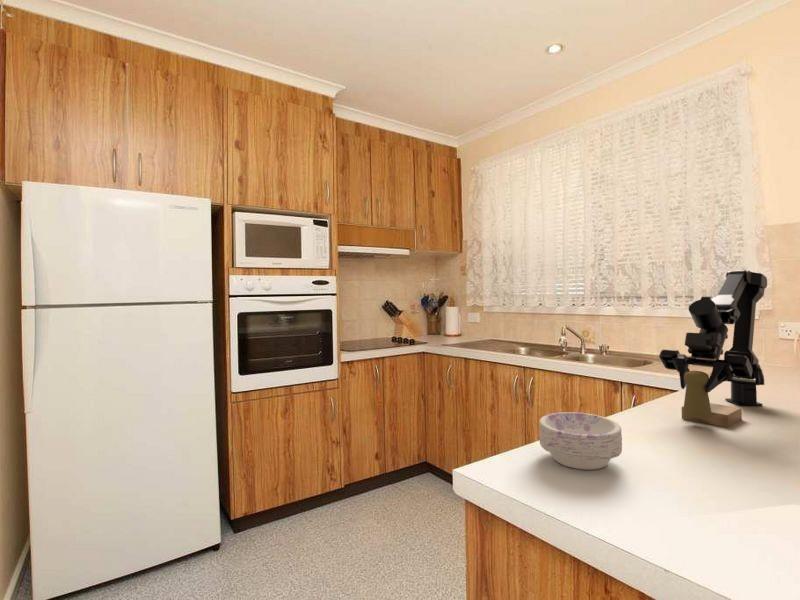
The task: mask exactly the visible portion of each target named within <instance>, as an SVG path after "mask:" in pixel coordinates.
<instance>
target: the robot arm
mask: <svg viewBox="0 0 800 600" xmlns="http://www.w3.org/2000/svg"><path fill="white" fill-rule="evenodd" d="M725 275H726V276H725V279H724V281H723V284H722V285H721V287H720V290H719V291H718V293H717V295H716V296H715V297H711V296H701V297H700V299H698V300H695V301H694V302H692V303H690V305H688V312H689V315H690V316H691V318H692V320H693V322H694V325H695V327H696V328H699V331H698V332H686V333H685V339H684V345H685V347H687V348H688V349H687V352H688V354H691V355H690V356H689V355H686V354H683V353H681V352H680V351H679V350H678V349H676V350H675V349H667V348H665V349H662V350H660V352H659V355H658V357H659V359H660V361H661V363H662V364H663V367H664V368H665V369H667V370H672V371H677V373H678V375H679V381H680V382H679V383H680V389H682V390H685V389H686V385H687V384H686V382H685V381H684V374H685V373H686V372H687V371H691V370H690V369H689V367H690V365H691V366H696V367H705V368H712V371H711V373H710V376H709V380H708V383H707V386H706V392H707V393H708V394H709V393H710V392H711V391H713V390H714V389H715V388H717V387H718V386H719V385H721V384H723V383H724V382H728V383H729V382H730V398H729V397H728V398H724V399H725V401H727V402H728V403H732V404H733V405H737V406H754V407H755V406H759V407H760V406H762V407H763V406H764V405H763V403H761V402H758V398H757V395H758V394H757V393H758V392H757V386H764V385H765V376H764V371H763V369H762V368H761V365H760V364H759V363H760V362H759V359H758V357H757V355H755V352H754V351H753V347H754V334H755V333H754V331H755V322H756V321H755V320H756V311H757V310H756V306H757V304H758V302H759V301H760V300H761V299H762V298H763V297H764V295H765V290H766V288H767V287H768V278H767V277H766V276H765V275H764V274H763V273H761V272H754V271H750V270H748V269H739V270H738V269H736V270H729V271H727V272H726V274H725ZM727 325H733V337H732V347H731V348H730V349H728V350H725V352H724V349H723V348H724V344H725V342H726V339H728V337H729V335H728V331H729V328H728V326H727ZM722 355H723V359H720V358H721V356H722Z"/></svg>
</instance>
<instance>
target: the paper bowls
mask: <svg viewBox="0 0 800 600" xmlns="http://www.w3.org/2000/svg"><path fill="white" fill-rule="evenodd" d="M538 425H539V427H538V428H539V433H538V435H539V444H540V447H541V448H542V449H543V450H544V451H546V452H548V453H549V454H550V455H551V458H552V459H553V460H554V461H556V463H558V464H560V465H563V466H564V467H567V468H571V469H574V470H575V469H576V470H585V471H587V470H588V471H590V470H591V471H593V470H599V469H602V468H604V467H606V466H607V465H608V464H610V463H609V462H610V461H611V459H614V458H617V457H619V456H620V455H621V454H622V451H623V442H622V440H623V437H622V426H621V425H620V424H619V423H618V422H616V421H615V420H613V419H611V418H609V417H605V416H601V415H597V414H592V413H585V412H573V411H570V412H568V411H565V412H561V411H560V412H554V413H553V412H552V413H547V414H545V415H543V416H542V417H541V418H540V419H539V421H538Z"/></svg>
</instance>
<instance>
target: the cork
mask: <svg viewBox="0 0 800 600" xmlns="http://www.w3.org/2000/svg"><path fill="white" fill-rule="evenodd" d="M709 378H710V376H709V374H708V373H706V372H704V371H701V370H690V371H687V372H686V373H685V374H684V381H685V382H686V386H685V395H684V402H683V406H684V408H683V415H685V416H687V417H691V418H698V419H710V418H712V412H711V407H710V403H711V402H710V398H709V397H710V396H709V393H707V392H706V386H707V383H708V380H709Z"/></svg>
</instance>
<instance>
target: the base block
mask: <svg viewBox="0 0 800 600" xmlns="http://www.w3.org/2000/svg"><path fill="white" fill-rule="evenodd" d="M710 407H711V412H712V418H710V419H698V418H691V417H687V416H685V415H683V408H684V405H683V406H681V419H683V420H688V421H693V422H700V423H704V424H709V425H715V426H718V427H724V428H729V427H731V426H733V425H735V424H736V423H739V422H740V421H742V419H743V416H742V415H743V413H742V411H743V410H742V407H739V406H738V407H737V406H732V405H725V404H718V403H714V402H712V403H711V402H710Z"/></svg>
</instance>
